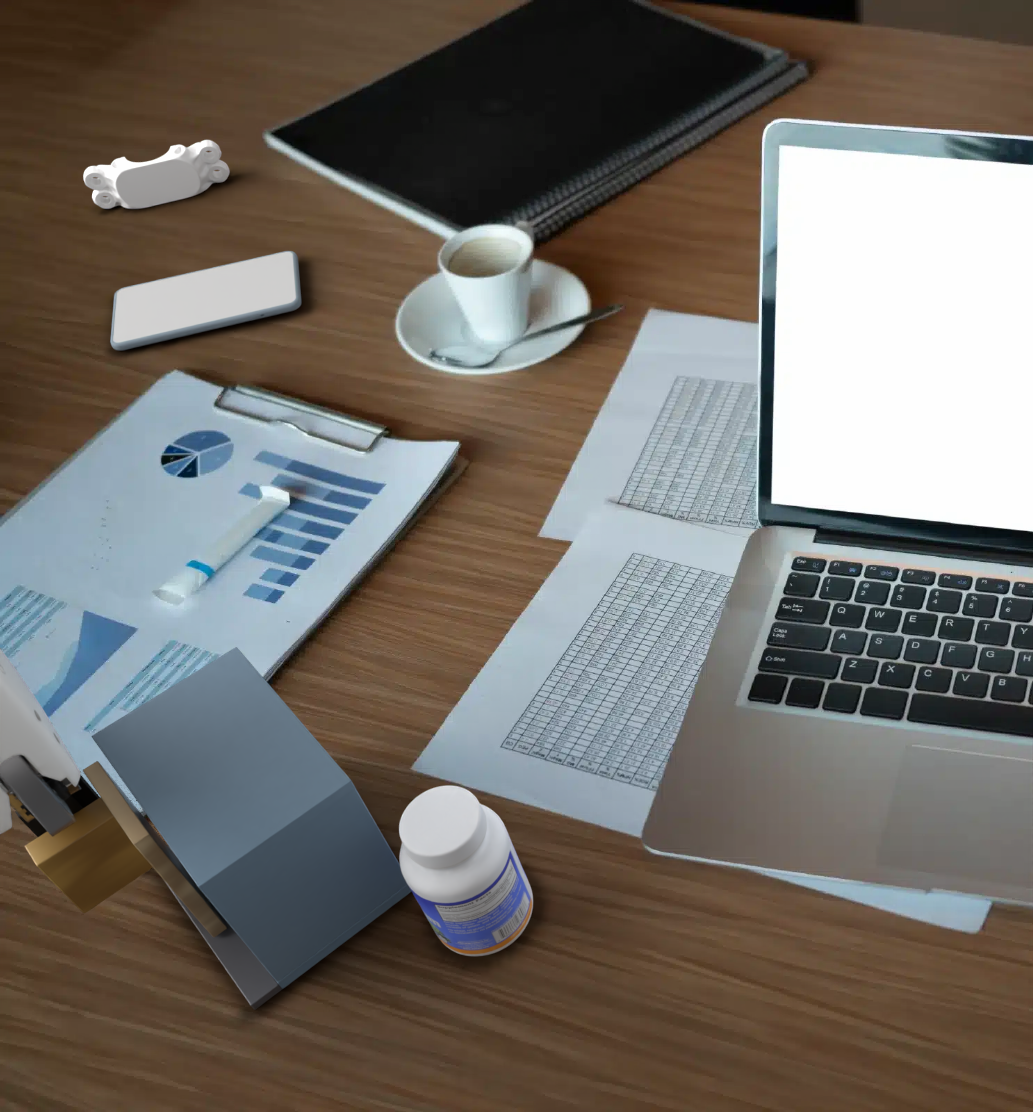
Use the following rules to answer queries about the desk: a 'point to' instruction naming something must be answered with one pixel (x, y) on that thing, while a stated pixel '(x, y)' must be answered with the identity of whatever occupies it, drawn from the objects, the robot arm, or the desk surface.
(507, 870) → the pill bottle
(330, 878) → the grey-blue hollow box
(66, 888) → the tan piece
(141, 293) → the smartphone
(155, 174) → the curved bracket
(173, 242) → the desk surface
